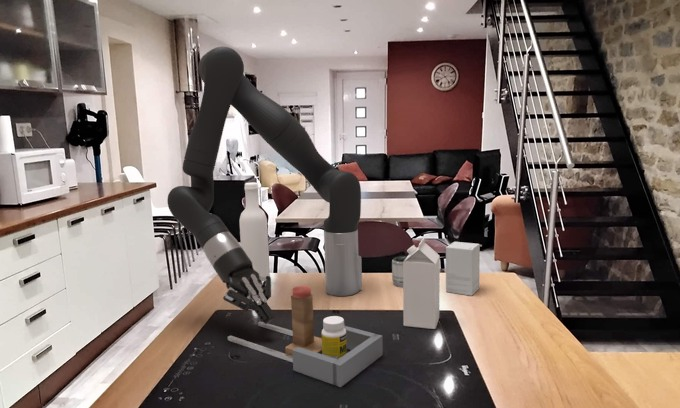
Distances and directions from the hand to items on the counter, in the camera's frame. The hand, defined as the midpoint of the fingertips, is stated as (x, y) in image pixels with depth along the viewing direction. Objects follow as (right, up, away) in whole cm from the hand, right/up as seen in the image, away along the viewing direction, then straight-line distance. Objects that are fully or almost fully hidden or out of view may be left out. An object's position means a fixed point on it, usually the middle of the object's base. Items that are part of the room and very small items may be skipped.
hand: (270, 320), depth 100 cm
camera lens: (+33, +2, +35) cm, 48 cm away
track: (+1, -4, 0) cm, 5 cm away
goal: (+14, -6, -9) cm, 18 cm away
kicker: (+8, -5, -5) cm, 11 cm away
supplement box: (+48, +1, +29) cm, 56 cm away
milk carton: (+33, -3, +8) cm, 35 cm away
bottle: (-9, +1, +37) cm, 38 cm away
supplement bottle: (+14, -6, -9) cm, 17 cm away
